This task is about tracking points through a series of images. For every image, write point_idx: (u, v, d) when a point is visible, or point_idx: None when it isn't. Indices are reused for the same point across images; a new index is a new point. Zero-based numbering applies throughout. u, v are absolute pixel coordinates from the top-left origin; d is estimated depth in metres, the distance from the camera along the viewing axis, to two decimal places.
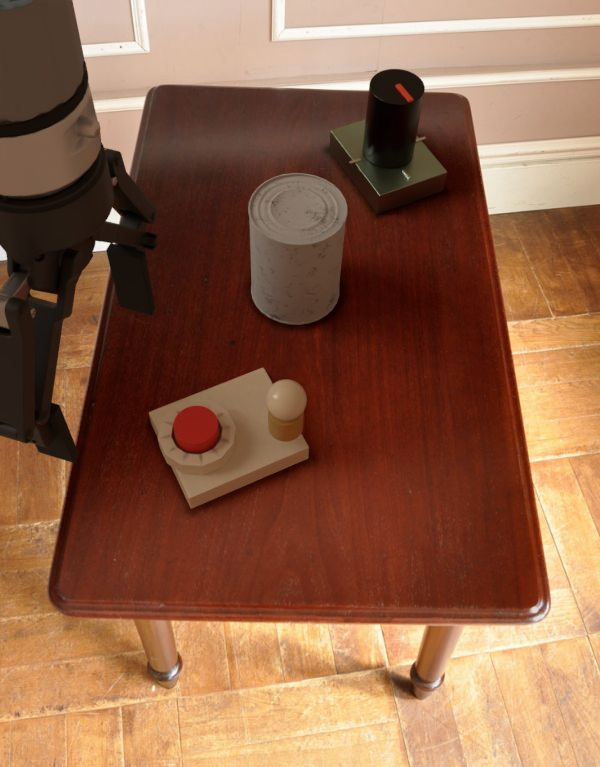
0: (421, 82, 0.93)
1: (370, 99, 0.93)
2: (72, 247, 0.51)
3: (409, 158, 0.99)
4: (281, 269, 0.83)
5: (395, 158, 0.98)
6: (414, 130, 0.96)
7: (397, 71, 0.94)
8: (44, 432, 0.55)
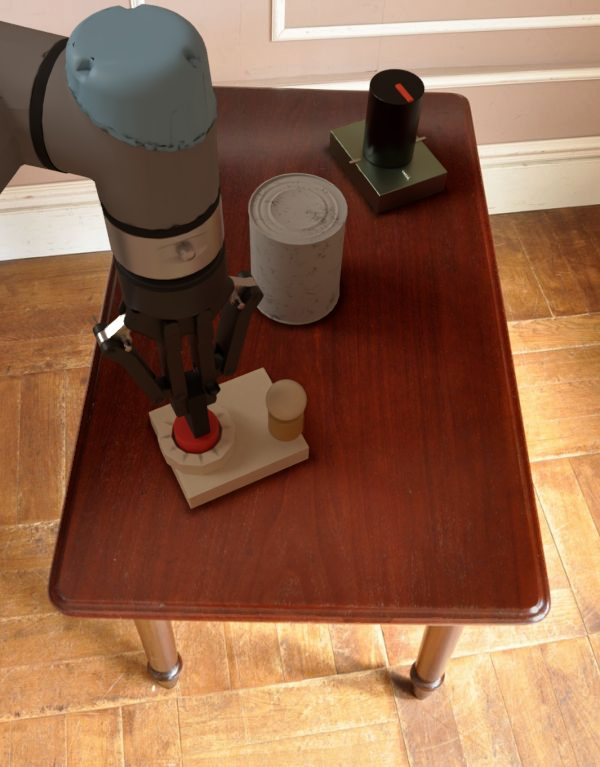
0: (421, 82, 0.93)
1: (370, 99, 0.93)
2: None
3: (409, 158, 0.99)
4: (281, 269, 0.83)
5: (395, 158, 0.98)
6: (414, 130, 0.96)
7: (397, 71, 0.94)
8: (179, 406, 0.72)
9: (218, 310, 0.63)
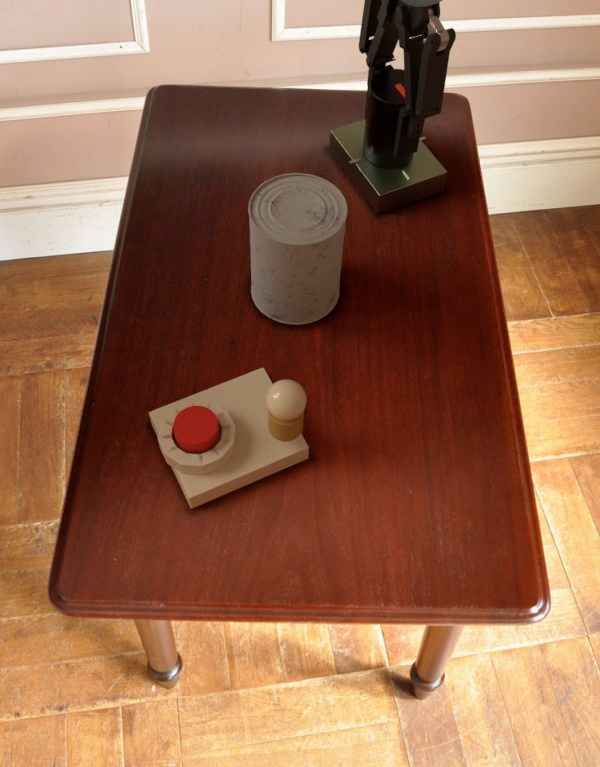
0: None
1: (370, 99, 0.93)
2: (397, 1, 0.84)
3: (409, 158, 0.99)
4: (281, 269, 0.83)
5: (395, 158, 0.98)
6: None
7: (396, 71, 0.94)
8: None
9: (412, 28, 0.84)
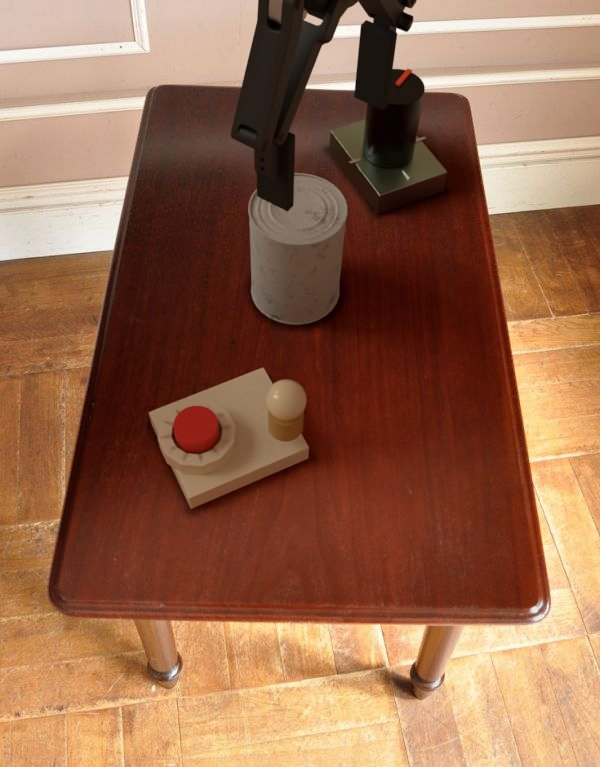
0: None
1: (418, 106, 0.93)
2: None
3: None
4: (281, 269, 0.83)
5: None
6: None
7: None
8: (274, 160, 0.58)
9: None
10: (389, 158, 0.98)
